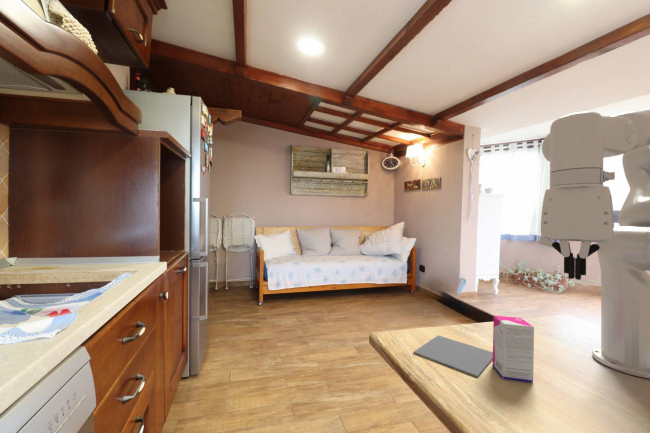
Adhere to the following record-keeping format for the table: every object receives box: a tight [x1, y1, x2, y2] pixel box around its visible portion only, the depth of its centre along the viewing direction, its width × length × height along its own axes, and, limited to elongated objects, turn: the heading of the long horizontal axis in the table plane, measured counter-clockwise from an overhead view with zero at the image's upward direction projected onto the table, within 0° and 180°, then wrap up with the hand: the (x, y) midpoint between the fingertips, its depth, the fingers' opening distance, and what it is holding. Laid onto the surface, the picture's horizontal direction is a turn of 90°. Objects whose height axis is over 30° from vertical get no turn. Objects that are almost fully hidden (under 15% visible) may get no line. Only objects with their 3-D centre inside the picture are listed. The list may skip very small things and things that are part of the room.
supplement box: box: [492, 315, 535, 384], centre depth 60 cm, size 6×6×12 cm
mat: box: [413, 334, 493, 378], centre depth 68 cm, size 14×14×1 cm
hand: (574, 278), depth 53 cm, fingers closed
